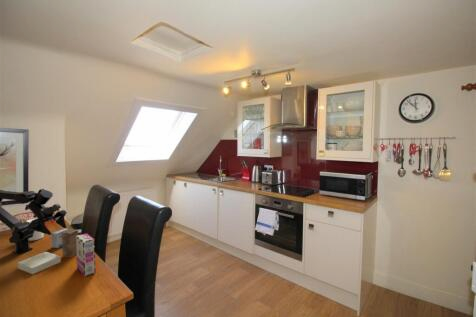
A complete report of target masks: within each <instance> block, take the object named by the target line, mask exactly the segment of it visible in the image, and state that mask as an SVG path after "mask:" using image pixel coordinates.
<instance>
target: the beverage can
mask: <svg viewBox="0 0 476 317" xmlns="http://www.w3.org/2000/svg"><path fill="white" fill-rule="evenodd" d="M35 219H38V218H37V217H35V218H34V217H33V218H30V219H28V220H26V221H27V222H29V223H30V222H31V221H32V220H35ZM43 237H44V233H42V232H38V231H34V234H33V237H31V238H29V241H30V242H31V241H38V240H40V239H42V238H43Z"/></svg>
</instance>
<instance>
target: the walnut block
mask: <svg viewBox="0 0 476 317" xmlns="http://www.w3.org/2000/svg"><path fill="white" fill-rule="evenodd" d="M68 229H69V230H67V231H65V232H63V233H62V247H61V248H62V249H61V250H62V257H64V258H72V257H74V256H77V249H76V236H78V235H79V230H78V229H72V228H68Z"/></svg>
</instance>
